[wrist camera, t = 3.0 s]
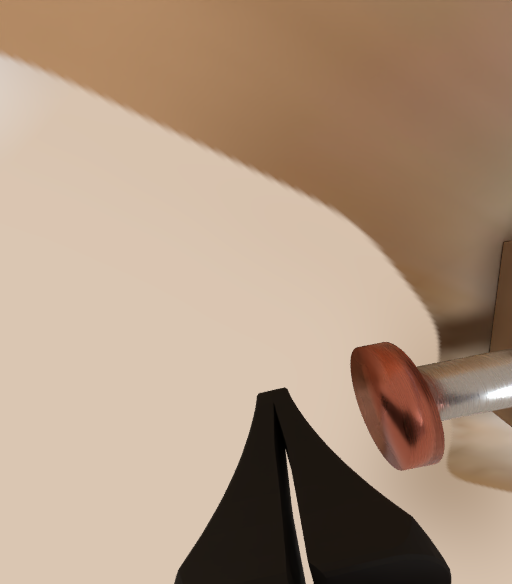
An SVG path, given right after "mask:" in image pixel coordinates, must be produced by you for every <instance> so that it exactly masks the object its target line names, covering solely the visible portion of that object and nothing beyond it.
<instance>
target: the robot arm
mask: <svg viewBox="0 0 512 584" xmlns="http://www.w3.org/2000/svg"><path fill="white" fill-rule="evenodd" d="M285 449H286V451H285ZM286 452H287V456H288V459H289V463H290V466H291V469H292V475H293V481H294V486H295V491H296V497H297V502H298V507H299V513H300V519H301V524H302V530H303V536H304V541H305V547H306V553H307V559H308V563H309V567H310V571H311V574H312V578H313V581H314V584H451V573H450V569H449V567H448V565H447V564H446V562H445V560H444V558H443V557H442V555H441V554H440V552H439V551H438V550H437V548H436V547H435V545H434V544H433V543H432V541H431V539H430V538H429V537H428V536H427V534H426V533H425V532H424V530H423V529H422V528H421V527H420V525H419V524H418V523H417V522H416V521H415V519H414V518H413V517H412V516H411V515H409V514H408V513H407V512H405V511H404V510H402V509H401V508H399V507H398V506H397V505H395V504H394V503H393V502H391V501H390V500H389V499H387V498H386V497H385V496H383V495H382V494H381V493H379V492H378V491H377V490H376V489H374V488H373V487H372V486H370V485H369V484H368V483H367V482H366V481H365V480H364V479H362V478H361V477H360V476H359V475H358V474H357V473H355V472H354V471H353V470H352V469H351V468H350V467H349V466H347V465H346V464H345V463H344V462H343V461H342V460H341V459H340V458H339V457H338V456H337V455H336V454H335V453H334V452H333V451H332V450H331V449H330V448H329V447H328V446H327V445H326V443H325V442H324V441H323V440H322V439H321V438H320V437H319V436H318V434H317V433H316V432H315V431H314V430H313V428H312V427H311V426H310V425H309V423H308V422H307V421H306V419H305V418H304V417H303V415H302V414H301V412H300V411H299V410H298V408H297V406H296V405H295V403H294V402H293V400H292V398H291V396H290V394H289V392H288V389H286V388H280V389H276V390H272V391H268V392H263V393H259V394H258V395H257V401H256V408H255V412H254V417H253V421H252V425H251V428H250V432H249V435H248V438H247V441H246V444H245V447H244V450H243V453H242V456H241V458H240V461H239V463H238V466H237V468H236V470H235V473H234V475H233V477H232V479H231V482H230V484H229V486H228V488H227V490H226V492H225V494H224V496H223V498H222V500H221V502H220V504H219V506H218V507H217V509H216V511H215V513H214V514H213V516H212V518H211V520H210V521H209V523H208V525H207V527H206V528H205V530H204V532H203V533H202V535H201V537H200V538H199V540H198V541H197V543H196V544H195V546H194V547H193V549H192V550H191V552H190V553H189V555H188V556H187V558H186V559H185V561H184V562H183V564H182V565H181V567H180V568H179V570H178V573H177V576H176V579H175V583H174V584H306V583H305V577H304V572H303V567H302V562H301V557H300V551H299V546H298V540H297V535H296V530H295V524H294V519H293V512H292V505H291V496H290V488H289V478H288V470H287V460H286Z"/></svg>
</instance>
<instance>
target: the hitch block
mask: <svg viewBox="0 0 512 584" xmlns="http://www.w3.org/2000/svg"><path fill="white" fill-rule="evenodd" d="M510 348H512V241H507V242H504V244H503V252H502V259H501V267H500V275H499V283H498V291H497V298H496V306H495V314H494V322H493V329H492V337H491V345H490V352H494V351H499V350H505V349H510ZM492 412H494V413H495V414H496V415H497V416H499V417H500V418H501V419H502V420H504V421H505V422H506V423H507V424H509V425H510V426H511V427H512V407H510V408H504V409H499V410H494V411H492Z"/></svg>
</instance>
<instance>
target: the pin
mask: <svg viewBox="0 0 512 584" xmlns="http://www.w3.org/2000/svg"><path fill="white" fill-rule="evenodd" d="M351 376H352V382H353V387H354V391H355V395H356V399H357V402H358V405H359V408H360V411H361V414H362V417H363V419H364V421H365V424H366V426H367V428H368V430H369V433H370V435H371V437H372V438H373V440H374V442H375V444H376V446H377V447H378V449H379V451H380V452H381V453H382V455H383V456H384V458H385V459H386V460H387V461H388V462H389V463H390V464H391V465H392V466H393V467H394V468H396V469H397V470H401V471H402V470H407V469H413V468H418V467H422V466H428V465H432V464H436V463H438V462H439V461H440V460H441V459H442V456H443V454H444V432H443V427H442V422H441V421H443V420H449V419H454V418H459V417H464V416H469V415H474V414H479V413H484V412H489V411H494V410H499V409H504V408H510V407H512V348H510V349H505V350H499V351H494V352H489V353H484V354H479V355H474V356H469V357H464V358H459V359H454V360H448V361H443V362H438V363H433V364H428V365H423V366H418V367H416V366H415V364H414V363H413V362H412V360H411V359H410V358H409V357H408V356H407V355H406V354H405V353H404V352H403V351H402V350H401V349H400V348H398V347H397V346H395V345H394V344H391V343H389V342H382V343H377V344H372V345H367V346H362V347H357V348H355V349H354V350H353V352H352V355H351Z"/></svg>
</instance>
